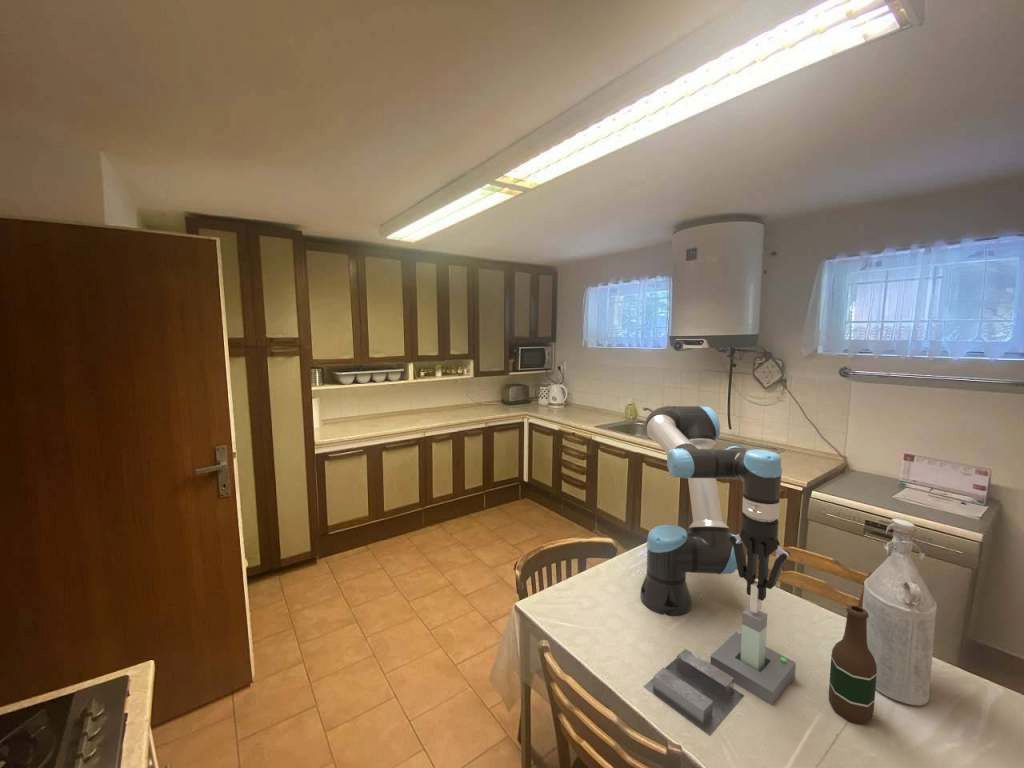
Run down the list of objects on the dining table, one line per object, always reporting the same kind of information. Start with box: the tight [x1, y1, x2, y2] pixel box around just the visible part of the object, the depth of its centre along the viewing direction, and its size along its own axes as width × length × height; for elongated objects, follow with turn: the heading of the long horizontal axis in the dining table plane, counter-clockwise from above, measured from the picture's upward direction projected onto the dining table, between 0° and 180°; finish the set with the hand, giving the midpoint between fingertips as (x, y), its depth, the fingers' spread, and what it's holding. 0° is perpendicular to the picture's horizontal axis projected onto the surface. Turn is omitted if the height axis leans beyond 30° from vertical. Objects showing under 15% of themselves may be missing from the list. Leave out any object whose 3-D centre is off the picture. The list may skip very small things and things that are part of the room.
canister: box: [861, 518, 938, 706], centre depth 99 cm, size 13×17×40 cm
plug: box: [740, 605, 768, 672], centre depth 103 cm, size 4×4×16 cm
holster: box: [643, 648, 745, 737], centre depth 98 cm, size 16×16×4 cm
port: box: [709, 631, 797, 706], centre depth 103 cm, size 14×14×5 cm
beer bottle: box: [828, 604, 877, 726], centre depth 92 cm, size 8×8×24 cm
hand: (755, 609), depth 102 cm, fingers closed
